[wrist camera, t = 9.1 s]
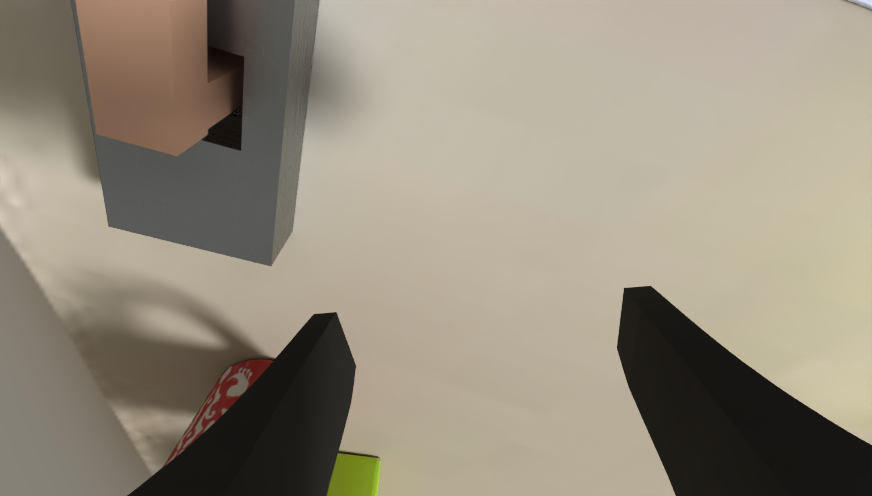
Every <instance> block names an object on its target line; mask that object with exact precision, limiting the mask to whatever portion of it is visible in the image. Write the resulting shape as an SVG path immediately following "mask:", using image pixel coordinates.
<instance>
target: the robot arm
mask: <svg viewBox="0 0 872 496" xmlns="http://www.w3.org/2000/svg"><path fill="white" fill-rule="evenodd" d="M848 1H850V2H853V3H856V4H858V5H861V6H863V7H866V8H869V9H871V10H872V0H848ZM617 350H618V353H619V356H620V360H621V363H622V367H623V370H624V373H625V377H626V380H627V383H628V386H629V389H630V391H631V393H632V396H633V398H634V400H635V402H636V405H637V407H638V409H639V412H640V414H641V416H642V419H643V421H644V423H645V425H646V428H647V430H648V432H649V434H650V436H651V439H652V441H653V443H654V446H655V448H656V450H657V452H658V455H659V457H660V459H661V461H662V464H663V466H664V468H665V470H666V473H667V475H668V477H669V480H670V482H671V485H672V487H673V490H674V492H675V495H676V496H872V445H870V444H869V443H867V442H865V441H863V440H861V439H860V438H858V437H856V436H854V435H853V434H851V433H849V432H848V431H846V430H844V429H843V428H841V427H839V426H838V425H836V424H834V423H833V422H831V421H829V420H828V419H826V418H825V417H823V416H822V415H820V414H818V413H817V412H815V411H814V410H812V409H811V408H809V407H808V406H806V405H804V404H803V403H801V402H800V401H798V400H797V399H795V398H793V397H792V396H790V395H789V394H787V393H786V392H784V391H783V390H782V389H780V388H779V387H777V386H776V385H774V384H773V383H771V382H770V381H769V380H767V379H766V378H764V377H763V376H762V375H760V374H759V373H758V372H756V371H755V370H753V369H752V368H751V367H749V366H748V365H746V364H745V363H744V362H742V361H741V360H740V359H738V358H737V357H736V356H735V355H733V354H732V353H731V352H729V351H728V350H727V349H726V348H724V347H723V346H722V345H721V344H719V343H718V342H717V341H716V340H714V339H713V338H712V337H711V336H709V335H708V334H707V333H706V332H704V331H703V330H702V329H701V328H700V327H698V326H697V325H696V324H695V323H694V322H692V321H691V320H690V319H689V318H688V317H686V316H685V315H684V314H683V313H682V312H681V311H679V310H678V309H677V308H676V307H675V306H674V305H672V304H671V303H670V302H669V301H668V300H667V299H665V298H664V297H663V296H662V295H661V294H660V293H658V292H657V291H656V290H655V289H654V288H652V287H651V286H644V287H632V288H624V293H623V302H622V310H621V318H620V327H619V335H618V344H617ZM355 369H356V365H355V362H354V359H353V357H352V354H351V351H350V348H349V346H348V343H347V340H346V337H345V335H344V332H343V329H342V326H341V324H340V321H339V318H338V315H337V313H336V312H334V313H323V314H314V315H313V316H312V317H311V318H310V319H309V320H308V322H307V323H306V324H305V325H304V326H303V327H302V328H301V330H300V331H299V332H298V333H297V334H296V335H295V337H294V338H293V339H292V340H291V341H290V343H289V344H288V345H287V346H286V347H285V348H284V349H283V351H282V352H281V353H280V354H279V355H278V356H277V357H276V359H275V360H274V361H273V362H272V363H271V364H270V365H269V367H268V368H267V369H266V370H265V371H264V372H263V373H262V374H261V376H260V377H259V378H258V379H257V380H256V381H255V382H254V383H253V384H252V385H251V386H250V387H249V388H248V389H247V390H246V391H245V392H244V393H243V394H242V395H241V397H240V398H239V399H238V400H237V401H236V402H235V403H234V404H233V405H232V406H231V407H230V408H229V409H228V410H227V411H226V412H225V413H224V414H223V415H222V416H221V417H220V418H219V419H218V420H217V421H216V422H215V423H214V424H212V425H211V426H210V427H209V428H208V429H207V430H206V431H205V432H204V433H203V434H202V435H200V436H199V437H198V438H197V439H196V440H195V441H194V442H193V443H192V444H190V445H189V446H188V447H187V448H186V449H185V450H184V451H182V452H181V453H180V454H179V455H178V456H176V457H175V458H174V459H173V460H171V461H170V462H169V463H168V464H167V465H165V466H164V467H163V468H162V469H160V470H159V471H158V472H157V473H155V474H154V475H153V476H152V477H150V478H149V479H148V480H147V481H146V482H144V483H143V484H142V485H141V486H139V487H138V488H137V489H135V490H134V491H133V492H132V493H130V494H129V495H128V496H327V493H328V488H329V484H330V481H331V477H332V473H333V469H334V466H335V462H336V458H337V454H338V451H339V447H340V443H341V440H342V436H343V432H344V428H345V424H346V420H347V417H348V413H349V409H350V405H351V399H352V393H353V386H354V377H355Z"/></svg>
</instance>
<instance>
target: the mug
mask: <svg viewBox="0 0 872 496" xmlns="http://www.w3.org/2000/svg"><path fill="white" fill-rule="evenodd" d="M272 362H273V361H271V360H248V361H243V362H240V363H237V364H235V365H232V366H231V367H229V368H228V369H227V370H226V371H225V372H224V373H223V374H222V375H221V377H220V378H219V380H218V381H217V383H216V384H215V386H214V388H213V389H212V390H211V392H210V393H209V395H208V396H207V398H206V400H205V402H204V404H203V405H202V407H201V408H200V410H199V411H198V413H197V414H196V416H195V417H194V419H193V421H192V422H191V424H190V425H189V427H188V428H187V430H186V432H185V433H184V435H183V436H182V438H181V439H180V441H179V442H178V444H177V445H176V447H175V448H174V450H173V451H172V453H171V455H170V457H169V458H168V460H167V462H166V463H165V465H167V464H168V463H169V462H170V461H171V460H173V459H174V458H175V457H176V456H178V455H179V454H180V453H181V452H182V451H184V450H185V449H186V448H187V447H188V446H189V445H190V444H192V443H193V442H194V441H195V440H196V439H197V438H198V437H199V436H200V435H202V434H203V433H204V432H205V431H206V430H207V429H208V428H209V427H210V426H211V425H212V424H214V423H215V422H216V421H217V420H218V419H219V418H220V417H221V416H222V415H223V414H224V413H225V412H226V411H227V410H228V409H229V408H230V407H231V406H232V405H233V404H234V403H235V402H236V401H237V400H238V399H239V398H240V397H241V395H242V394H243V393H244V392H245V391H246V390H247V389H248V388H249V387H250V386H251V385H252V384H253V383H254V382H255V381H256V380H257V379H258V378H259V377H260V376H261V374H262V373H263V372H264V371H265V370H266V369H267V368H268V367H269V365H270V364H271V363H272ZM165 465H164V466H165ZM164 466H163V467H164Z"/></svg>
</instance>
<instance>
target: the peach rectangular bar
mask: <svg viewBox="0 0 872 496" xmlns="http://www.w3.org/2000/svg"><path fill="white" fill-rule="evenodd" d="M75 2H76V8H77V15H78V21H79V27H80V34H81V40H82V46H83V53H84V59H85V65H86V72H87V78H88V84H89V91H90V97H91V103H92V110H93V116H94V122H95V129H96V134H97V135H101V136H104V137H108V138H112V139H115V140H119V141H123V142H126V143H130V144H134V145H137V146H141V147H145V148H148V149H152V150H156V151H160V152H163V153H167V154H171V155H174V156H179V155H180V154H181V153H183V152H184V151H186V150H187V149H188V148H190V147H191V146H193V145H194V144H195V143H197V142H198V141H200V140H201V139H202V138H204V137H205V136H207V135H208V129H209V128H210V127H212V126H213V125H215V124H216V123H217V122H219V121H220V120H222V119H223V118H225V117H226V116H228V115H229V114H230V113H232V112H233V111H235V110H236V109H238V108H239V107H241V106H242V105H243V82H244V56H240V55H237V54H234V53H231V52H227V51H224V50H221V49H217V48H214V47H211V46H207V0H75Z"/></svg>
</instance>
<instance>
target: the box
mask: <svg viewBox="0 0 872 496" xmlns="http://www.w3.org/2000/svg"><path fill="white" fill-rule="evenodd" d="M379 476H380V458H375V457H366V456H358V455H350V454H342V453H338V454H337V458H336V462H335V466H334V469H333V473H332V477H331V481H330V484H329V488H328V493H327V496H377V492H378V484H379Z"/></svg>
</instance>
